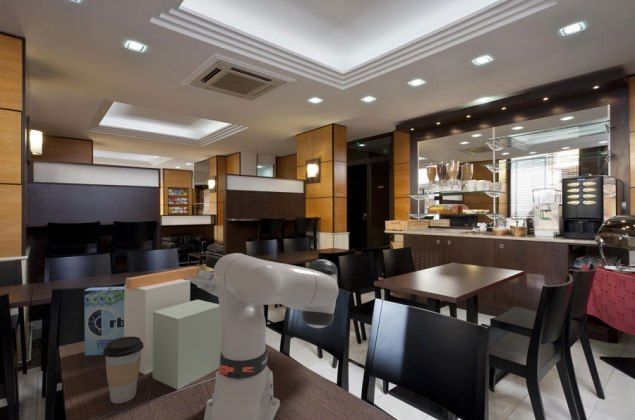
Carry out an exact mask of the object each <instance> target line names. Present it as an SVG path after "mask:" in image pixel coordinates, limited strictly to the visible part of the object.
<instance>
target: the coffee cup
mask: <svg viewBox="0 0 635 420" xmlns="http://www.w3.org/2000/svg"><path fill="white" fill-rule="evenodd" d="M143 347H144V345H143V342H142V341H141V340H140V338H139V337H122V338H118V339H115V340H112V341H110V342H109V343H108V344H107V346H106V348H105V349H104V352H103V355H102V356H105V369H106V379H107V385H108V391H109V399H110V402H111V403H112V404H117V405H118V404H122V403H127V402H129V401H131V400H133V399H134V398H135V397H136V396H137V387H138V379H139V377H140V376H139V375H140V372H139V368H140V360H141V356H140V355H141V349H142V348H143Z"/></svg>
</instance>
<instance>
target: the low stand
mask: <svg viewBox="0 0 635 420" xmlns="http://www.w3.org/2000/svg"><path fill="white" fill-rule="evenodd" d="M221 352H222V318H221V311H220V305H219V303H214V302H209V301H205V300H202V299H195V300H190V302H187V303H183V304H180V305H176V306H172V307H169V308H165V309H161V310H158V311H154V312H153V371H152V379H153V380H156V381H158V382H160V383H161V384H164V385H167V386H169V387H171V388H172V389H175V390H176V391H178V390H180V389H182V388H184V387H186V386H189V384H192V383H194V382H195V381H198V380H199V379H202V378H204V377H205V376H207V375H209V374H211V373H213V372H215V371H216V370H217V371H218V370H219V365H220V364H219V360H220V355H221Z"/></svg>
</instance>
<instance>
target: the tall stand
mask: <svg viewBox="0 0 635 420" xmlns="http://www.w3.org/2000/svg"><path fill="white" fill-rule="evenodd" d="M190 301H191V282H190V280H187V279H180V280H175V281H170V282H165V283H160V284H155V285H150V286H145V287H140V288H135V289H128V288H126V284H124V337H139V338H140V340H141V341H142V342H143V345H144V347H143V348H142V349H141V355H140V356H141V360H140V368H139V373H140V374H143V375H147V374H149V373H151V372H152V373H153V312H154V311H158V310H161V309H165V308H169V307H172V306H176V305H180V304H183V303H187V302H190Z"/></svg>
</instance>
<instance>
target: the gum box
mask: <svg viewBox="0 0 635 420" xmlns="http://www.w3.org/2000/svg"><path fill="white" fill-rule="evenodd" d="M83 292H84V294H83V295H84V298H83V299H84V300H83V301H84V302H83V303H84V356H104V355H103V352H104V349H105V348H106V346H107V344H108V343H109V342H110V341H112V340H115V339H118V338H122V337H124V286H90V287H88V288H86V289H84V290H83Z"/></svg>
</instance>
